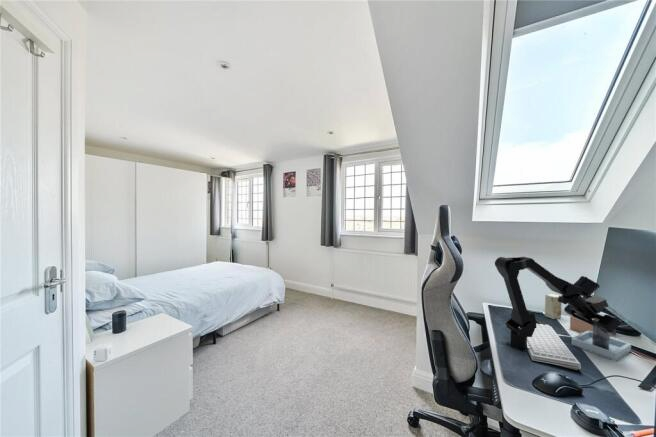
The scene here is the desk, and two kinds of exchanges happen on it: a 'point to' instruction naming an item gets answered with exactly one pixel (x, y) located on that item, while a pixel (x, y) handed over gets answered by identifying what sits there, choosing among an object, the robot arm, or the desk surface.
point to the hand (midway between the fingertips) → (604, 329)
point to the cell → (600, 336)
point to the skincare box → (552, 306)
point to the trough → (615, 347)
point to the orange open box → (579, 325)
